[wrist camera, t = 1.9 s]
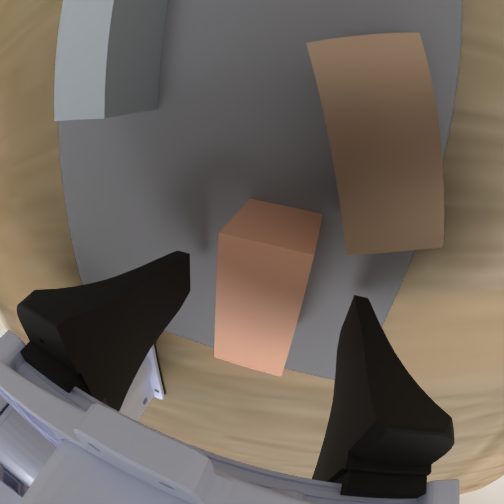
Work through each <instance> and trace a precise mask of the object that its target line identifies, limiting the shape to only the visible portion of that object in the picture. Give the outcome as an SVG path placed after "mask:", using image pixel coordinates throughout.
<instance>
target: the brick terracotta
mask: <svg viewBox="0 0 504 504" xmlns="http://www.w3.org/2000/svg"><path fill="white" fill-rule="evenodd" d="M322 217H323V214H320V213H315V212H311V211H306V210H302V209H297V208H293V207H288V206H283V205H279V204H274V203H269V202H264V201H259V200H254V199H249V201H248V202H247V203H246V204H245V205H244V206H243V207H242V208H241V209H240V210H239V211H238V212H237V213H236V215H235V216H234V217H233V218H232V219H231V220H230V221H229V222H228V223H227V224H226V225H225V227H224V228H223V229H222V230H221V231H220V232H219V237H218V257H217V279H216V306H215V340H214V357H215V358H218V359H221V360H224V361H228V362H231V363H234V364H237V365H241V366H244V367H247V368H251V369H254V370H258V371H261V372H265V373H269V374H272V375H276V376H280V377H281V376H282V373H283V370H284V366H285V363H286V360H287V356H288V353H289V349H290V346H291V342H292V339H293V335H294V332H295V328H296V324H297V321H298V317H299V313H300V310H301V306H302V302H303V298H304V294H305V290H306V286H307V283H308V279H309V274H310V270H311V266H312V262H313V258H314V254H315V249H316V245H317V240H318V236H319V231H320V226H321V222H322Z"/></svg>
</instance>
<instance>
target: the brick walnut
mask: <svg viewBox="0 0 504 504" xmlns="http://www.w3.org/2000/svg"><path fill="white" fill-rule="evenodd" d="M306 44H307V48H308V51H309V55H310V59H311V62H312V66H313V70H314V74H315V78H316V82H317V86H318V90H319V94H320V99H321V103H322V108H323V112H324V117H325V122H326V126H327V131H328V136H329V141H330V147H331V152H332V158H333V163H334V169H335V175H336V181H337V187H338V194H339V201H340V208H341V215H342V223H343V231H344V239H345V248H346V256H350V255H363V254H375V253H387V252H399V251H411V250H423V249H435V248H443V246H444V176H443V160H442V148H441V138H440V130H439V122H438V115H437V108H436V102H435V96H434V91H433V85H432V80H431V76H430V71H429V67H428V62H427V58H426V54H425V50H424V47H423V43H422V39H421V36H420V33H384V34H370V35H359V36H349V37H341V38H334V39H327V40H320V41H314V42H309V43H306Z"/></svg>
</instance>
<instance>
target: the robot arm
mask: <svg viewBox="0 0 504 504" xmlns="http://www.w3.org/2000/svg"><path fill="white" fill-rule="evenodd" d="M190 290H191V289H190V254H189V253H185V252H182V251H175V252H172V253H170V254H168V255H165V256H163V257H161V258H158V259H156V260H154V261H152V262H150V263H147V264H145V265H143V266H140V267H138V268H136V269H133V270H131V271H128V272H126V273H123V274H121V275H118V276H115V277H112V278H109V279H105V280H102V281H98V282H94V283H90V284H85V285H81V286H75V287H69V288H61V289H45V290H34V291H33V292H32V293H31V294H30V295H29V296H27V297H26V298H25V299H24V300H23V301H22V302H20V303H19V304H18V305H17V314H18V317H19V320H20V322H21V324H22V326H23V328H24V330H25V332H26V334H27V336H28V338H29V340H30V342H29V343H28V344H27V345H26V344H25V343H24V342H23V341H22V340H21V339H20V338H19V337H17V336H16V335H15V334H14V333H13V332H11V331H10V330H8V331H7V332H6V333H5V334H4V335H3V336H2V337H1V338H0V504H459V480H458V479H452V480H436V481H430V482H427V475H429V474H430V473H431V464H432V463H434V462H435V461H436V460H438V459H439V458H441V457H442V456H443V455H445V454H446V453H447V452H448V451H449V450H450V449H451V448H452V446H453V445H454V429H453V422H452V418H451V417H450V416H449V415H448V414H447V413H446V412H445V411H444V410H442V409H441V408H440V407H439V406H438V405H437V404H436V403H435V402H434V401H433V400H432V399H431V398H430V397H429V396H428V395H427V394H426V393H425V392H424V391H423V390H422V389H421V388H420V386H419V385H418V384H417V383H416V382H415V380H414V379H413V378H412V377H411V375H410V374H409V373H408V371H407V370H406V369H405V367H404V366H403V364H402V363H401V361H400V360H399V358H398V357H397V355H396V354H395V352H394V350H393V348H392V347H391V345H390V343H389V341H388V339H387V337H386V335H385V333H384V331H383V329H382V327H381V325H380V323H379V321H378V319H377V316H376V314H375V312H374V310H373V307H372V305H371V303H370V301H369V299H368V298H366V297H361V296H357V295H354V297H353V300H352V302H351V305H350V308H349V310H348V313H347V315H346V318H345V320H344V323H343V326H342V328H341V331H340V336H339V342H338V348H337V357H336V372H335V386H334V396H333V404H332V408H331V413H330V418H329V422H328V426H327V430H326V434H325V438H324V442H323V445H322V449H321V452H320V456H319V459H318V462H317V465H316V468H315V471H314V474H313V477H312V479H308V478H303V477H297V476H293V475H288V474H283V473H279V472H275V471H271V470H267V469H263V468H259V467H255V466H252V465H248V464H245V463H242V462H238V461H235V460H232V459H229V458H226V457H223V456H220V455H217V454H214V453H211V452H208V451H205V450H203V449H200V448H197V447H195V446H192V445H189V444H187V443H184V442H182V441H180V440H177V439H175V438H172V437H170V436H168V435H166V434H163V433H161V432H159V431H157V430H154V429H152V428H150V427H148V426H146V425H144V424H142V423H140V422H138V420H139V419H140V417H141V416H142V414H143V413H144V411H145V409H146V408H147V406H148V405H149V403H150V401H151V400H152V398H153V397H156V398H158V399H163V398H164V397H165V395H164V391H163V386H162V382H161V377H160V373H159V368H158V363H157V358H156V353H155V348H154V343H155V341H156V340H157V339H158V337H159V336H160V335H161V333H162V332H163V331H164V330H165V328H166V327H167V326H168V324H169V323H170V322H171V320H172V319H173V318H174V316H175V315H176V314H177V312H178V311H179V310H180V308H181V307H182V305H183V303H184V302H185V300H186V298H187V296H188V294H189V292H190Z"/></svg>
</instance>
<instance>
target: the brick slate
mask: <svg viewBox="0 0 504 504" xmlns="http://www.w3.org/2000/svg"><path fill="white" fill-rule="evenodd" d="M167 3H168V0H63V5H62V11H61V17H60V24H59V32H58V40H57V51H56V63H55V83H54V121H65V120H82V119H105V118H110V117H115V116H120V115H126V114H131V113H137V112H144V111H150V110H157V109H158V91H159V76H160V63H161V52H162V42H163V33H164V25H165V17H166V10H167Z"/></svg>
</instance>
